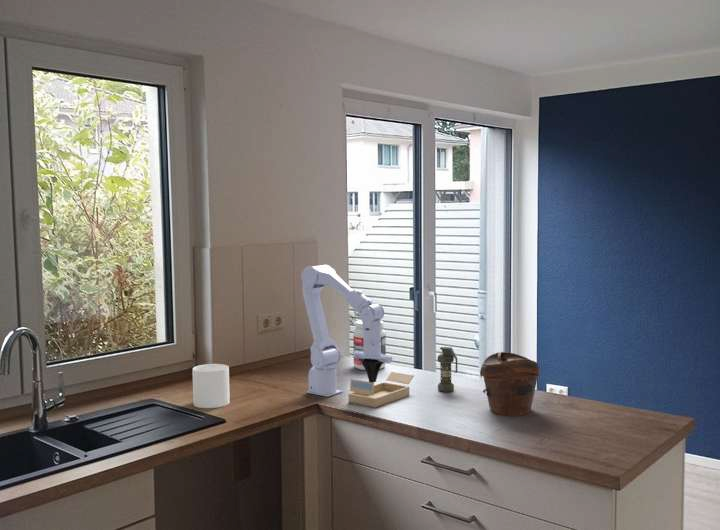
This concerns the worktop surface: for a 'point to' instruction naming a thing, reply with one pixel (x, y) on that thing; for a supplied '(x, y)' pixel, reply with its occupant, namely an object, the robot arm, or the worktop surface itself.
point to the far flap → (400, 378)
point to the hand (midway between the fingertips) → (372, 381)
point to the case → (509, 383)
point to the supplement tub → (359, 343)
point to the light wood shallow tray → (380, 395)
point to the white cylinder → (211, 386)
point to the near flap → (362, 387)
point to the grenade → (446, 369)
